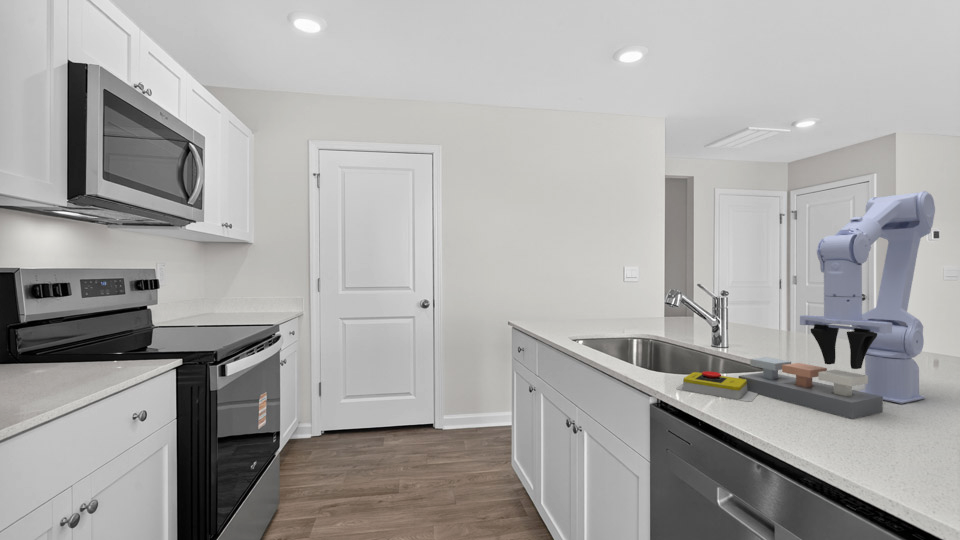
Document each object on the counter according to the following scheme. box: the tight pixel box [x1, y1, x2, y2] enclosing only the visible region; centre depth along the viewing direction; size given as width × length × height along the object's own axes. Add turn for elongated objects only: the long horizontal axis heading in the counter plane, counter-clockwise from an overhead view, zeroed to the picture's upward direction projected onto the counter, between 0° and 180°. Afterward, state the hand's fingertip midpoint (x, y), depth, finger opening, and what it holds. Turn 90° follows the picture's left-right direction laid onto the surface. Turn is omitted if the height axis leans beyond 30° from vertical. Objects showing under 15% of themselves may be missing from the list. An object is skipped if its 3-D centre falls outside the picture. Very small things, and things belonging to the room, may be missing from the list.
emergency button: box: [676, 370, 759, 403], centre depth 98 cm, size 9×4×15 cm
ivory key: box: [817, 369, 868, 396], centre depth 85 cm, size 6×6×4 cm
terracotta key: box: [781, 362, 828, 387], centre depth 91 cm, size 6×6×4 cm
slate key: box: [750, 356, 792, 380], centre depth 98 cm, size 6×6×4 cm
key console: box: [738, 372, 884, 420], centre depth 91 cm, size 10×22×3 cm, turn 23°
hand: (842, 366), depth 85 cm, fingers open, 4 cm apart
